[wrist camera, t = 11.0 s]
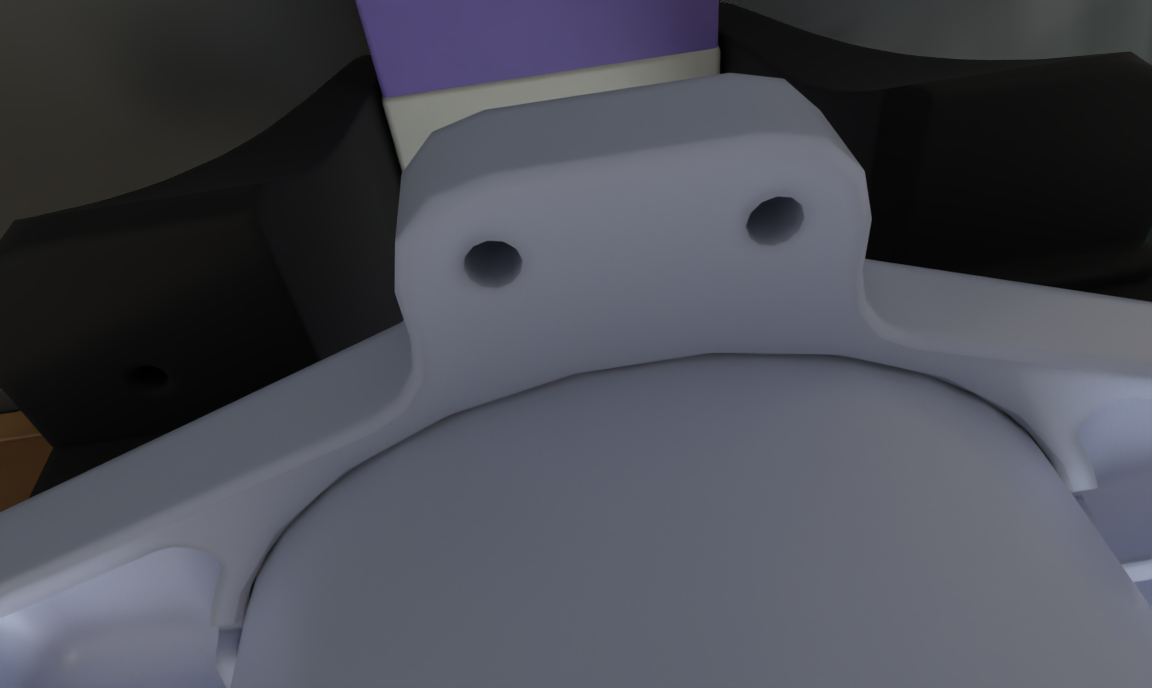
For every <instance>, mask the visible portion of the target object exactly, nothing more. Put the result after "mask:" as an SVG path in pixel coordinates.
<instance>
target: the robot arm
mask: <svg viewBox="0 0 1152 688" xmlns="http://www.w3.org/2000/svg"><path fill="white" fill-rule="evenodd" d="M718 46H719V48H720V50H721V56H720V74H717V75H711V76H704V77H698V78H691V79H684V80H678V81H671V82H665V83H658V84H651V85H645V86H638V87H631V88H625V89H618V90H612V91H605V92H598V93H592V94H585V95H578V96H572V97H565V98H559V99H552V100H545V101H539V102H532V103H526V104H519V105H512V106H506V107H499V108H492V109H486V110H483V111H480V112H478V113H476V114H473V115H471V116H468V117H466V118H464V119H461V120H459V121H457V122H454V123H452V124H450V125H447V126H445V127H442V128H440V129H438V130H435V131H433V132H431V134H430V135H429V137H428V138H427V139H426V141H425V142H424V144H423V145H422V146H421V148H420V149H419V150H418V152H417V153H416V155H415V156H414V157H413V159H412V160H411V162H410V163H409V164H408V166H407V167H406V168H405V170H404V171H403V173H402V170H401V167H400V163H399V160H398V156H397V153H396V150H395V146H394V143H393V139H392V136H391V132H390V129H389V125H388V122H387V118H386V115H385V112H384V108H383V105H382V96H383V95H382V92H381V88H380V85H379V81H378V78H377V74H376V71H375V67H374V64H373V61H372V57H371V55H364V56H361V57H358V58H356V59H355V60H353V61H352V62H350V63H349V64H348V65H347V66H345V67H344V68H343V69H342V70H340V71H339V72H338V73H337V74H336V75H335V76H333V77H332V78H331V79H330V80H329V81H328V82H326V83H325V84H324V85H323V86H322V87H321V88H319V89H318V90H317V91H316V92H315V93H314V94H312V95H311V96H310V97H309V98H308V99H306V100H305V101H304V102H303V103H301V104H300V105H299V106H297V107H296V108H295V109H293V110H292V111H291V112H289V113H288V114H287V115H285V116H284V117H283V118H281V119H280V120H279V121H277V122H276V123H275V124H273V125H272V126H271V127H269V128H268V129H266V130H265V131H263V132H262V133H260V134H258V135H257V136H255V137H254V138H252V139H250V140H249V141H247V142H245V143H243V144H242V145H240V146H238V147H236V148H235V149H233V150H231V151H229V152H227V153H226V154H224V155H222V156H220V157H218V158H215V159H213V160H211V161H209V162H206V163H204V164H202V165H200V166H197V167H195V168H193V169H191V170H188V171H186V172H184V173H182V174H179V175H177V176H175V177H173V178H170V179H167V180H165V181H162V182H159V183H156V184H153V185H151V186H148V187H145V188H142V189H139V190H136V191H133V192H130V193H126V194H123V195H120V196H117V197H113V198H110V199H106V200H103V201H99V202H96V203H92V204H88V205H83V206H79V207H75V208H70V209H66V210H61V211H57V212H53V213H48V214H44V215H40V216H35V217H30V218H25V219H20V220H15V221H14V222H13V223H12V224H11V226H10V227H9V229H8V230H7V232H6V233H5V234H4V236H3V237H2V239H1V240H0V387H1V388H2V389H3V391H4V392H5V393H6V394H7V395H8V396H9V398H10V399H11V400H12V401H13V402H14V403H15V405H16V406H17V407H18V408H19V409H20V410H21V412H22V413H23V414H24V415H25V416H26V417H27V419H28V420H29V421H30V422H31V423H32V424H33V426H34V427H35V428H36V429H37V430H38V431H39V433H40V434H41V435H42V436H43V437H44V438H45V440H46V441H47V442H48V443H49V444H50V445H51V447H53V449H52V451H51V453H50V455H49V457H48V459H47V461H46V463H45V465H44V468H43V470H42V472H41V474H40V476H39V478H38V480H37V482H36V484H35V486H34V488H33V490H32V492H31V494H30V496H29V499H27V500H25V501H23V502H21V503H19V504H17V505H15V506H13V507H10V508H8V509H6V510H4V511H2V512H0V688H1152V247H1151V246H1150V245H1149V244H1148V243H1146V242H1145V239H1146V237H1147V235H1148V232H1149V230H1150V228H1151V226H1152V65H1150V64H1149V63H1147V62H1146V61H1144V60H1143V59H1141V58H1140V57H1138V56H1137V55H1135V54H1134V53H1132V52H1120V53H1108V54H1097V55H1086V56H1075V57H1063V58H1052V59H1036V60H962V59H948V58H935V57H923V56H914V55H906V54H898V53H892V52H887V51H882V50H876V49H871V48H865V47H860V46H856V45H852V44H848V43H844V42H840V41H837V40H833V39H830V38H827V37H823V36H820V35H816V34H813V33H810V32H807V31H804V30H801V29H798V28H795V27H793V26H790V25H787V24H784V23H782V22H779V21H776V20H774V19H771V18H768V17H766V16H763V15H760V14H758V13H755V12H752V11H750V10H747V9H744V8H741V7H738V6H735V5H732V4H728V3H721V2H719V16H718Z"/></svg>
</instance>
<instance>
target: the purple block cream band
mask: <svg viewBox="0 0 1152 688" xmlns="http://www.w3.org/2000/svg"><path fill="white" fill-rule="evenodd" d="M355 1H356V5H357V8H358V12H359V15H360V19H361V22H362V26H363V29H364V33H365V36H366V40H367V43H368V47H369V50H370V54H371V57H372V61H373V64H374V67H375V71H376V74H377V78H378V81H379V85H380V88H381V92H382V95H383V96H382V105H383V108H384V112H385V115H386V118H387V122H388V125H389V129H390V132H391V136H392V139H393V143H394V146H395V150H396V153H397V156H398V160H399V163H400V167H401V170H402V173H403V171H404V170H405V168H406V167H407V166H408V164H409V163H410V162H411V160H412V159H413V157H414V156H415V155H416V153H417V152H418V150H419V149H420V148H421V146H422V145H423V144H424V142H425V141H426V139H427V138H428V137H429V135H430V134H431V132H433V131H435V130H438V129H440V128H442V127H445V126H447V125H450V124H452V123H454V122H457V121H459V120H461V119H464V118H466V117H468V116H471V115H473V114H476V113H478V112H480V111H483V110H486V109H492V108H499V107H506V106H512V105H519V104H526V103H532V102H539V101H545V100H552V99H559V98H565V97H572V96H578V95H585V94H592V93H598V92H605V91H612V90H618V89H625V88H631V87H638V86H645V85H651V84H658V83H665V82H671V81H678V80H684V79H691V78H698V77H704V76H711V75H717V74H720V56H721V50H720V48H719V46H718V16H719V0H355Z"/></svg>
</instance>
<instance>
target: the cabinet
mask: <svg viewBox="0 0 1152 688" xmlns="http://www.w3.org/2000/svg"><path fill="white" fill-rule="evenodd" d="M52 449H53V447H51V445H50V444H49V443H48V442H47V441H46V440H45V438H44V437H43V436H42V435H41V434H40V433H39V431H38V430H37V429H36V428H35V427H34V426H33V424H32V423H31V422H30V421H29V420H28V419H27V417H26V416H25V415H24V414H23V413H22V412H21V411H17V412H11V413H4V414H0V512H2V511H4V510H6V509H8V508H10V507H13V506H15V505H17V504H19V503H21V502H23V501H25V500H27V499H29V496H30V494H31V492H32V490H33V488H34V486H35V484H36V482H37V480H38V478H39V476H40V474H41V472H42V470H43V468H44V465H45V463H46V461H47V459H48V457H49V455H50V453H51V451H52Z"/></svg>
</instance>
